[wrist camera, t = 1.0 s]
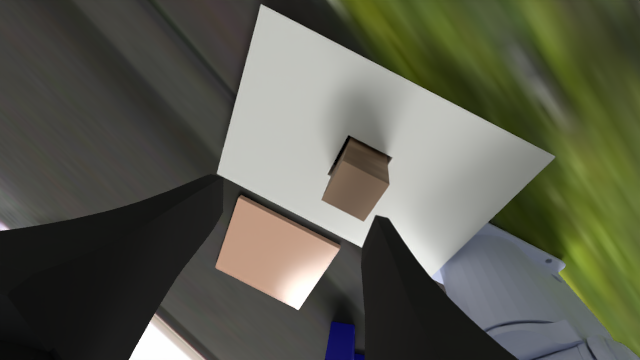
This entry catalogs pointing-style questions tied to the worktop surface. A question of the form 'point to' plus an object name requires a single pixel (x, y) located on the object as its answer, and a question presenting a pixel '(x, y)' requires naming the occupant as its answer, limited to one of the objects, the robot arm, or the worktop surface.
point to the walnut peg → (357, 179)
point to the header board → (367, 142)
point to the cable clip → (342, 343)
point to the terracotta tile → (274, 253)
